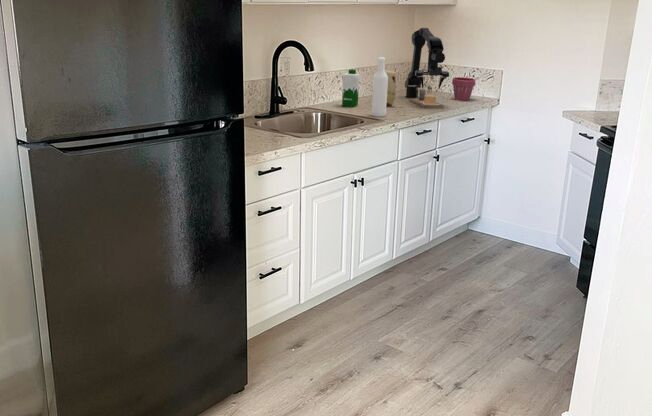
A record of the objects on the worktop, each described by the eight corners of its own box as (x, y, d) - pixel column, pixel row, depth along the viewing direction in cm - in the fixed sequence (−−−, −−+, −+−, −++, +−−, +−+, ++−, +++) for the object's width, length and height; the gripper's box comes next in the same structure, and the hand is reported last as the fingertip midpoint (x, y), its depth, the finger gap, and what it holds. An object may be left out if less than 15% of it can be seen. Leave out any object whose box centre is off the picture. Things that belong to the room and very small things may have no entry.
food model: (376, 105, 362) (378, 70, 355) (381, 103, 367) (383, 69, 360) (391, 107, 357) (393, 71, 350) (396, 105, 362) (399, 70, 356)
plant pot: (475, 101, 383) (477, 80, 379) (452, 101, 383) (454, 79, 379) (471, 98, 397) (473, 77, 393) (448, 97, 397) (450, 76, 393)
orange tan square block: (424, 103, 361) (425, 96, 359) (423, 101, 366) (424, 95, 365) (435, 104, 361) (435, 97, 359) (434, 102, 366) (434, 95, 365)
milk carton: (359, 105, 360) (361, 70, 354) (354, 107, 352) (356, 71, 346) (345, 104, 363) (346, 68, 356) (339, 106, 355) (341, 70, 348)
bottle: (371, 116, 329) (374, 58, 319) (370, 113, 336) (373, 56, 327) (386, 117, 329) (390, 58, 319) (385, 114, 337) (388, 57, 327)
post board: (408, 100, 379) (409, 88, 377) (427, 100, 382) (428, 88, 379) (423, 108, 357) (424, 94, 355) (443, 107, 360) (444, 94, 357)
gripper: (418, 62, 348) (416, 90, 353) (451, 63, 348) (449, 91, 353) (415, 60, 359) (414, 87, 364) (448, 61, 358) (446, 88, 363)
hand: (430, 88), depth 361 cm, fingers open, 9 cm apart
